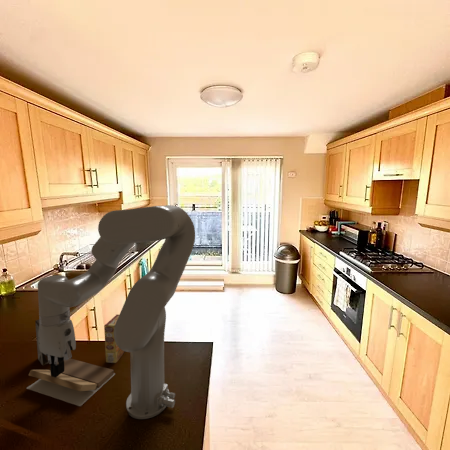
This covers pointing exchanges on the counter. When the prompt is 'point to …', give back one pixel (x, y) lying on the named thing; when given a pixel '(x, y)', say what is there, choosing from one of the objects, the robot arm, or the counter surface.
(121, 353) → the candy box
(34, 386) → the underlay mat
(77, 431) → the counter surface
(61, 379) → the oak plank
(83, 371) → the walnut plank
